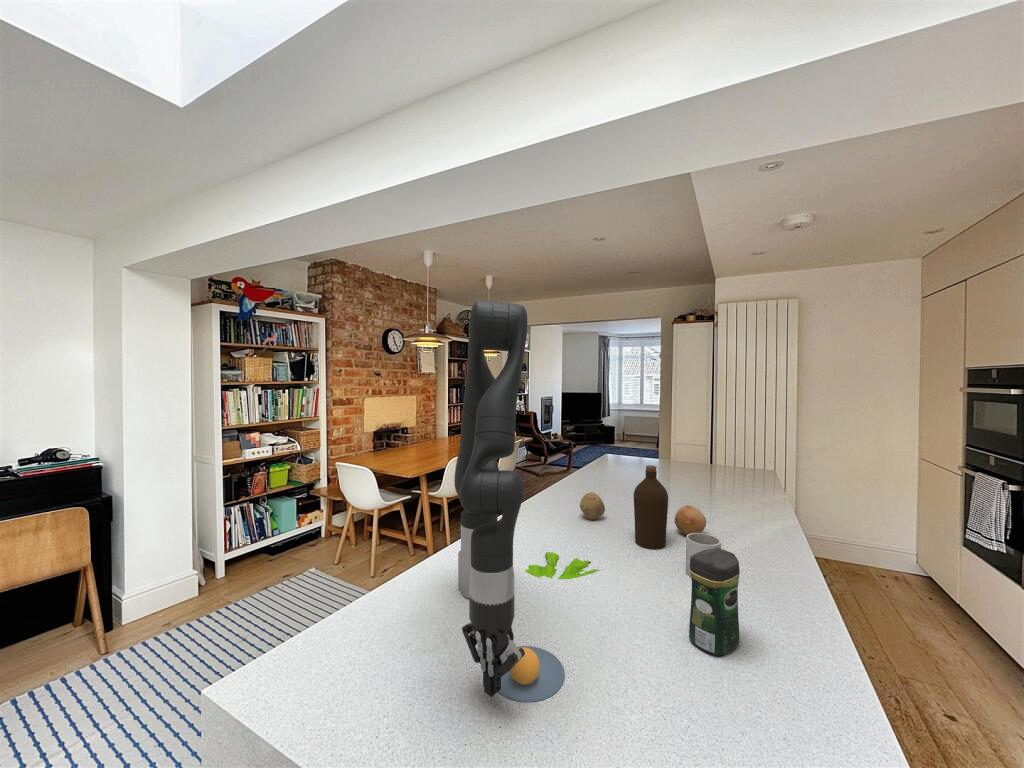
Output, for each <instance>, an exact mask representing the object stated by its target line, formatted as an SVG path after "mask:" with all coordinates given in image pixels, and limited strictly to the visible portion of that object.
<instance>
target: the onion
mask: <svg viewBox="0 0 1024 768" xmlns="http://www.w3.org/2000/svg"><path fill="white" fill-rule="evenodd" d="M674 525H675V526H676V528H677V529H678V530H679V532H681V533H682V534H683V535H686V536H687V535H688V534H690V533H703V531H704V530H705V529H706V525H707V519H706V516H705V515H704V513H703V512H702V511H701V510H700V509H699V508H697V507H696V506H694V505H690V504H685V505H683V506H681V507H680V508H679V509H678V510H677V511H676V513H675V515H674Z"/></svg>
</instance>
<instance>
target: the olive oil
mask: <svg viewBox="0 0 1024 768" xmlns="http://www.w3.org/2000/svg"><path fill="white" fill-rule="evenodd" d="M657 473H658V472H657V466H655V465H645V477H644V478H643V479H642V480H641V481H640V483H638V484H637V485H636V487H635V489H634V491H633V508H634V509H633V513H634V514H633V517H634V542H635V544H636V545H637V546H639V547H641V548H643V549H647V550H662V549H664V548H665V547H666V546H667V524H668V512H669V511H668V509H669V494H668V491H667V488H666V487H665V486H664V485H663V484H662V483H661V482H660V481H659V479H658V478H657Z"/></svg>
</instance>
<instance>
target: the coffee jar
mask: <svg viewBox="0 0 1024 768" xmlns="http://www.w3.org/2000/svg"><path fill="white" fill-rule="evenodd" d="M689 570H690V575H691V578H690V579H691V595H690V598H691V599H690V613H689V622H688V623H689V624H688V625H689V626H688V627H689V628H688V629H689V630H688V638H689V639H690V641H691V642H692V644H693V645H695V646H696V647H698V649H699V650H701V651H703V652H706V653H708V654H711V655H712V654H713V655H716V656H722V655H726V654H728V653H730V652H732V651H733V650H734V649H735V648H737V646H738V645H739V643H740V623H739V622H740V621H739V600H738V599H739V589H738V588H739V582H740V581H739V580H740V573H741V572H740V563H739V560H738V558H737V556H736V555H735V554H734V553H733V552H731V551H728V550H725V549H723V548H721V549H720V548H717V547H715V548H712V549H707V550H704V551H701V552H698V553H696V554H694V555H692V556H691V557H690V569H689Z"/></svg>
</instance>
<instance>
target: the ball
mask: <svg viewBox="0 0 1024 768" xmlns="http://www.w3.org/2000/svg"><path fill="white" fill-rule="evenodd" d="M519 649H520V648H519ZM522 649H523V650H524V652H525V655H524V656H523V657H522V658H521V660H520V661H519V662H518V663H517V664H516V665H515V666H514V667H513V668H512V669H511V670H510V674H511V676H512V678H513V679H514V680H515V681H516V682H517V683H519V684H522V685H527V684H530V683H532V682H533V681H534V680H535V679H536V678H537V676H538V674H539V669H540V663H539V659H538V657H537V655H536V654H535V652H534V651H533V650H531V649H529V648H525V647H523V648H522Z"/></svg>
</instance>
